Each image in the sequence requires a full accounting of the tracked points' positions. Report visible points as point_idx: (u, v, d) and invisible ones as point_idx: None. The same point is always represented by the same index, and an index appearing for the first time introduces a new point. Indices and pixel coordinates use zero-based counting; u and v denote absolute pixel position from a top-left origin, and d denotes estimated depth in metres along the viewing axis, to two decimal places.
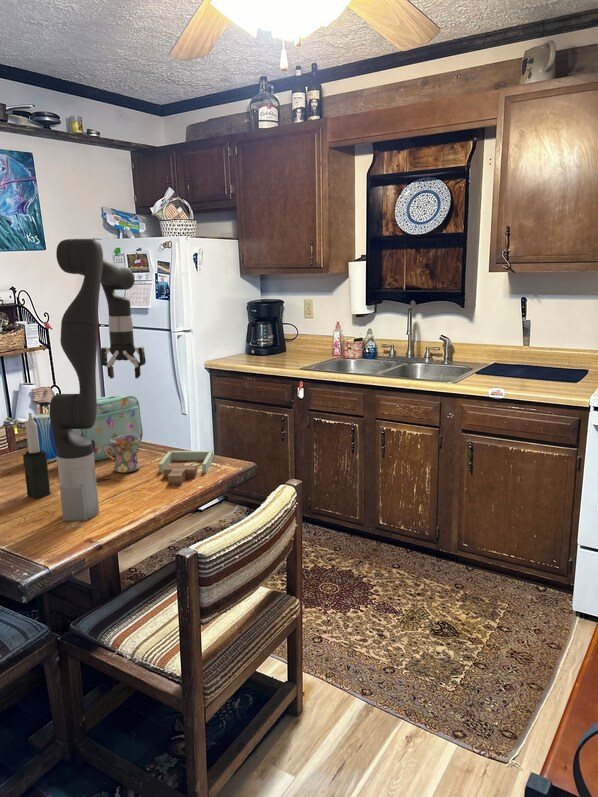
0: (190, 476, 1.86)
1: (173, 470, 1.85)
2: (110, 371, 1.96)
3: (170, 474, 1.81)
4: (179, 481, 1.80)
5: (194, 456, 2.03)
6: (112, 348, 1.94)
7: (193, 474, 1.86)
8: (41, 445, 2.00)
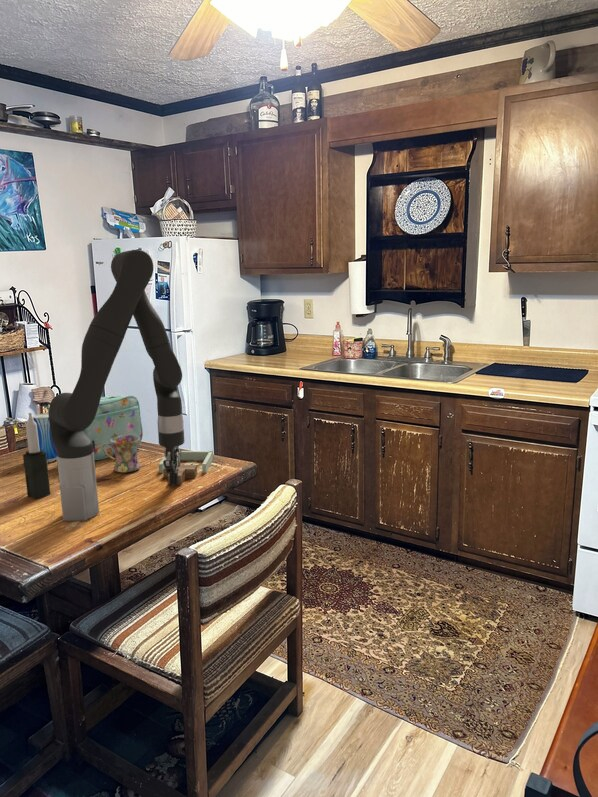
0: (190, 476, 1.86)
1: None
2: (176, 476, 1.77)
3: None
4: (179, 481, 1.80)
5: (194, 456, 2.03)
6: (173, 451, 1.73)
7: (193, 474, 1.86)
8: (41, 445, 2.00)
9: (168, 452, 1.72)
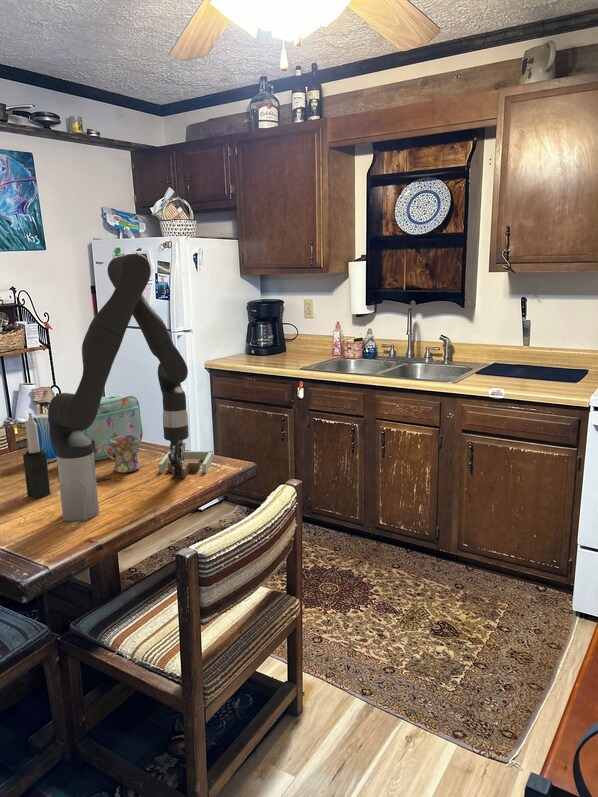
0: (193, 469, 1.92)
1: None
2: (181, 469, 1.84)
3: None
4: (183, 474, 1.86)
5: (194, 456, 2.03)
6: (177, 445, 1.79)
7: (196, 467, 1.92)
8: (41, 445, 2.00)
9: (173, 446, 1.78)
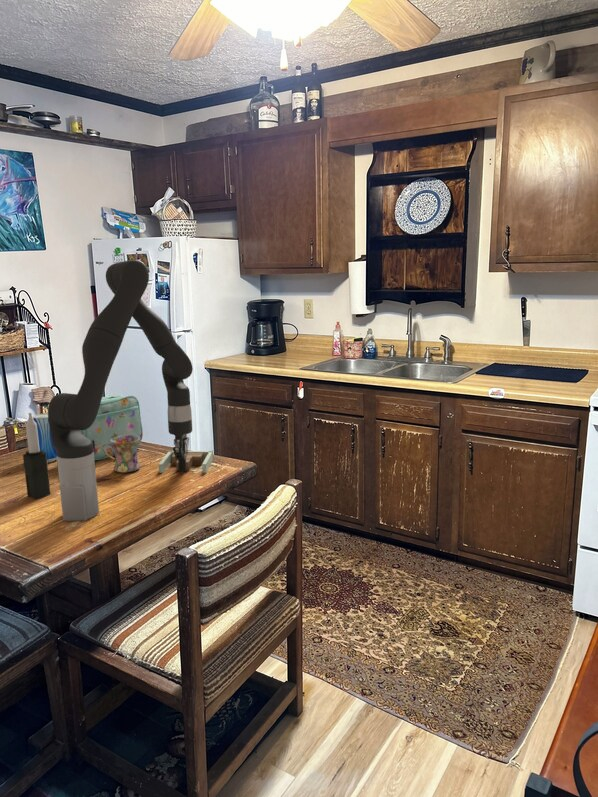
0: (197, 463, 1.99)
1: None
2: (185, 463, 1.90)
3: None
4: (187, 467, 1.93)
5: None
6: (182, 439, 1.85)
7: (200, 461, 1.99)
8: (41, 445, 2.00)
9: (177, 440, 1.85)
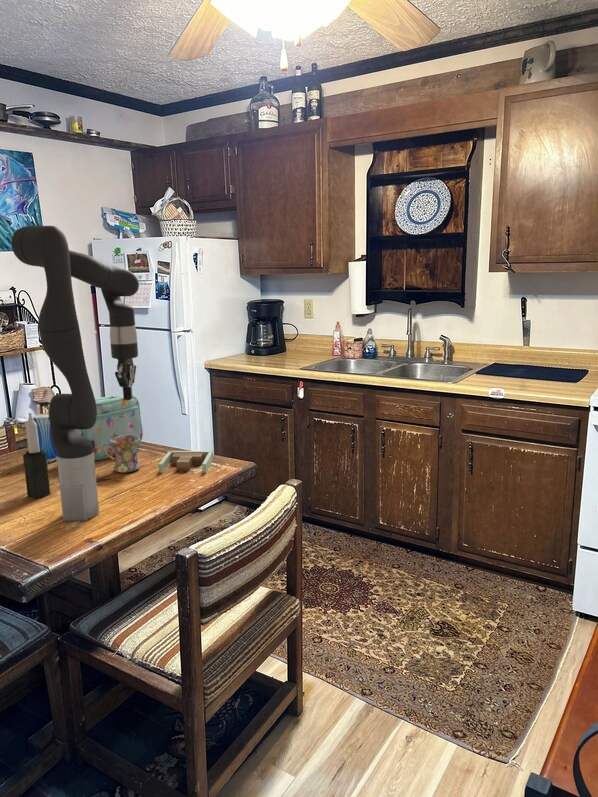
0: (197, 463, 1.99)
1: (181, 457, 1.97)
2: (130, 391, 1.74)
3: (178, 460, 1.94)
4: (187, 467, 1.93)
5: None
6: (125, 363, 1.69)
7: (200, 461, 1.99)
8: (41, 445, 2.00)
9: (120, 364, 1.69)
